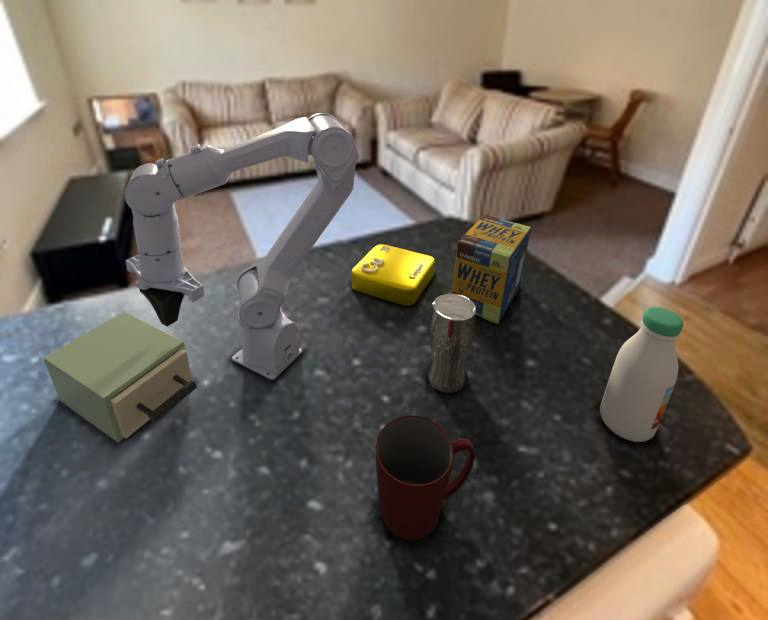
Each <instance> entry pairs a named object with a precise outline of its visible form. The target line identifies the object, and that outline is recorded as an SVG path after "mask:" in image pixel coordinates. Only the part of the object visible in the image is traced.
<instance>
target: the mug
mask: <svg viewBox="0 0 768 620" xmlns="http://www.w3.org/2000/svg"><path fill="white" fill-rule="evenodd" d="M463 451H467V455H466V459H465V461H464V463H463V465H462V467H461V469H460V470H459V471H458V473H457V474H456V476H455V477H454V478H453V479H452V480H451V481H450V477H451V473H452V468H453V464H454V463H453V462H454V456H455V455H456V454H458V453H460V452H463ZM475 459H476V450H475V448H474V445H473V443H472V441H471V440H470V439H468V438H466V437H465V438H464V437H463V438H461V437H460V438H457V439H455V440H453V441H452V440H451V438H450V436H449V434H448V433H447V432H446V431H445V429H444V428H443V427H442V426H441V425H440V424H438V423H437V422H435V421H434V420H432V419H430V418H427V417H424V416H421V415H412V414H411V415H409V414H408V415H403V416H399V417H396V418H394V419H391V421H388V422H387V423H386V424H385V425H384V426H383V427H382V428H381V430H380V432H379V433H378V435H377V438H376V442H375V472H376V482H377V495H378V502H379V503H378V505H379V512H380V516H381V519H382V520H381V521H383V524H384V525H385V527H386V528H387V529H388V531H389V532H390V533H392V534H393V535H394V536H396V537H398V538H400V539H403V540H406V541H416V540H420V539H423V538H425V537H427V536H428V535H430V534H431V533H432V532H433V531H434V530H435V528H436V526H437V524H438V522H439V519H440V516H441V512H442V508H443V505H444V501H445V500H446V499H448V498H449V497H451V496H453V495H454V494H455V493H456V492H458V490H459V489H460V488H461V487H463V485H464V484H465V482H466V480H468V477H469V476H470V474H471V472H472V469H473V467H474V464H475Z"/></svg>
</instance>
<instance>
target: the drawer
mask: <svg viewBox="0 0 768 620" xmlns="http://www.w3.org/2000/svg"><path fill="white" fill-rule="evenodd" d="M197 387H198V386H197V383H196V382H195V381H194V380H193V376H192V371H191V366H190V361H189V357H188V352H187V350H186V349H185V350H183V349H180V350H179V351H177V352H176V353H175V354H172V355H170V356H169V357H168V358H166V359H165V360H163V361H162V362H161V363H159V364H158V365H157V366H155V367H154V368H152V369H151V370H150V371H148V372H147V373H145V374H144V375H143V376H141V377H140V378H138V379H137V380H136V381H134V382H133V383H132V384H130V385H129V386H127V387H126V388H125V389H123V390H122V391H120V392H119V393H118V394H116V395H115V396H113V397H112V398H111V400H110V402H111V405H112V408H113V411H114V414H115V417H116V421H117V424H118V427H119V430H120V433H121V435H122V436H123V437H125V438H124V439H128V438H129V437H130V436H132V435H133V434H134V433H135V432H137V430H139V429H140V428H142V427H143V426H144V425H145V424H147V422H149V421H150V422H152V423H156V422H157V421H158V420H160V419H161V418H162V417H164V416H165V415H167V413H168V412H170V411H171V410H172V409H173V408H174V407H176V406H177V405H178V404H179V403H180V402H181V401H183V400H184V399H185V398H186V397H187V396H188V395H190V394H191V393H192V392H193V391H195V390H196V389H197Z"/></svg>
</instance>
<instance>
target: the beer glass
mask: <svg viewBox="0 0 768 620" xmlns="http://www.w3.org/2000/svg"><path fill="white" fill-rule="evenodd" d="M476 317H477V316H476V306H475V304H474V303H473V302H472V301H471V300H470V299H468V298H467V297H464V296H462V295H458V294H452V293H445V294H442V295H439V296H438V297H436V298H435V299H434V301H433V303H432V310H431V314H430V322H429V323H430V324H429V343H430V352H431V357H432V358H431V365H430V368H429V371H428V375H427V379H428V382H429V384H430V386H431V387H432V388H433V389H435V390H437V391H438V392H441V393H444V394H453V393H456V392H458V391H460V390H462V389H463V387H464V385H465V382H466V375H465V364H466V361H467V358H468V356H469V353H470V350H471V348H472V344H473V342H474V336H475V330H476Z"/></svg>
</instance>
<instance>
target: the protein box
mask: <svg viewBox="0 0 768 620" xmlns="http://www.w3.org/2000/svg"><path fill="white" fill-rule="evenodd" d="M531 230H532V227H531V226H529V225H524V224H521V223H517V222H514V221H511V220H506V219H504V218H499V217H496V216H492V215H489V214H484V215H483V216H481V218H479V220H477V221H476V222H475V224H474V225H473V226H472V227H471V228H470V229H469V230H468V231H467V232H466V233H465V234H464V235H463V236H462V237H461V238H460V239H459V240H458V241H457V244H456V255H455V263H454V271H453V279H452V280H453V282H452V291H451V294H458V295H462V296H464V297H467V298H468V299H470V300H471V301H472V302H473V303H474V304H475V306H476V317H478V318H481V319H484V320H486V321H488V322H491V323H494V324H496V325H497V324H499V323H500V321H501V319H502V318H503V316H504V314H505V313H506V311H507V309H508V308H509V306H510V305H511V303H512V301H513V300H514V298H515V296H516V295H517V293H518V292H519V290H520V287H521V282H522V277H523V272H524V266H525V262H526V258H527V257H526V256H527V253H528V252H527V251H528V246H529V240H530V236H531ZM519 285H520V286H519ZM515 292H516V293H515Z"/></svg>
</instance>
